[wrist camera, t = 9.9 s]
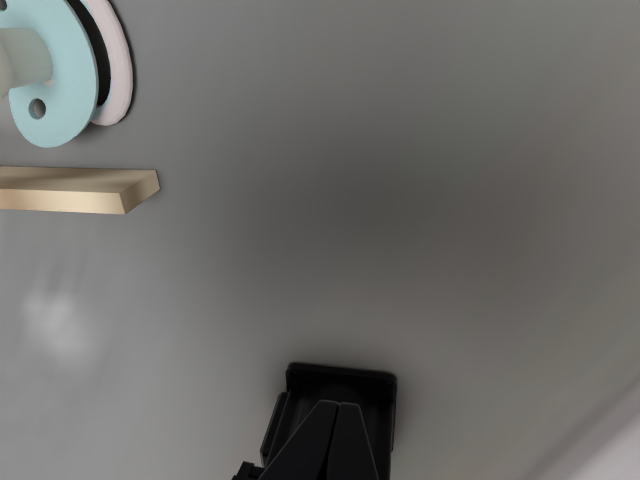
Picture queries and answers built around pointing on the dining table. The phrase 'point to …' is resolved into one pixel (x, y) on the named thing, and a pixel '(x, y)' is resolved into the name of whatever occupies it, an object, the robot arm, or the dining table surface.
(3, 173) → the box
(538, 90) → the dining table surface
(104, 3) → the pacifier
